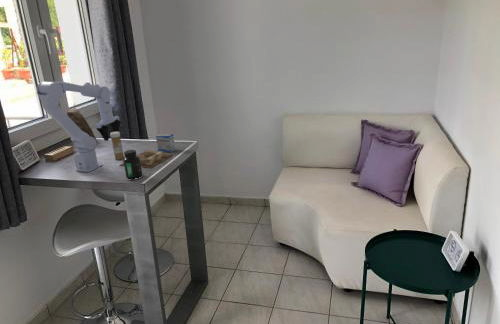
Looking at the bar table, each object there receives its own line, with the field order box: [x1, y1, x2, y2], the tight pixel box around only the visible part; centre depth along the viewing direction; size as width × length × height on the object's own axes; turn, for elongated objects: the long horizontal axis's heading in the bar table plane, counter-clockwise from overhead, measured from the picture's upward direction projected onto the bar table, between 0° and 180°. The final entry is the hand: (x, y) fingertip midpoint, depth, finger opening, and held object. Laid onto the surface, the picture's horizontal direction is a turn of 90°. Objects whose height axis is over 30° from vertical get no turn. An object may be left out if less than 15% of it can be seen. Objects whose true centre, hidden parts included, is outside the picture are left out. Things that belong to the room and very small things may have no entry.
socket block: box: [119, 150, 173, 169], centre depth 192 cm, size 18×18×3 cm
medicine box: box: [155, 133, 176, 153], centre depth 203 cm, size 8×4×9 cm, turn 76°
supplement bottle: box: [122, 149, 144, 180], centre depth 170 cm, size 7×7×12 cm
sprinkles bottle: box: [109, 131, 125, 161], centre depth 196 cm, size 5×5×13 cm
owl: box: [66, 108, 98, 143], centre depth 225 cm, size 13×13×20 cm
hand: (111, 138), depth 196 cm, fingers open, 7 cm apart
